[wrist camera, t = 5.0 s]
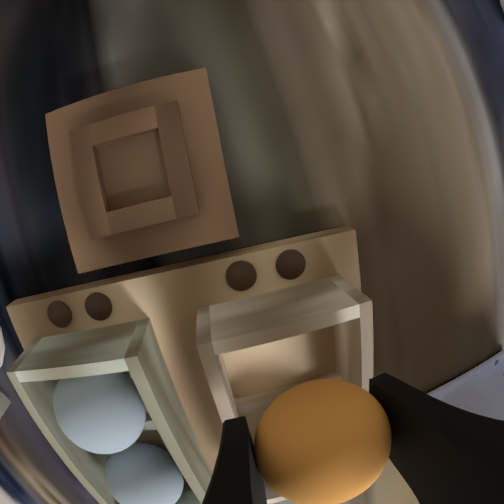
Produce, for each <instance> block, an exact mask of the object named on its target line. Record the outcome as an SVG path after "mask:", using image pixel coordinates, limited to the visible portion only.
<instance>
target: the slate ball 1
mask: <svg viewBox="0 0 504 504" xmlns="http://www.w3.org/2000/svg"><path fill="white" fill-rule="evenodd" d="M53 408H54V414H55V417H56V420H57V422H58V425H59V426H60V428H61V430H62V431H63V433H64V434H65V435H66V436H67V437H68V438H69V439H70V440H71V441H72V442H73V443H74V444H76V445H77V446H79V447H80V448H82V449H84V450H86V451H89V452H92V453H97V454H113V453H117V452H120V451H122V450H124V449H126V448H128V447H129V446H131V445H132V444H133V443H134V442H135V441H136V440H137V439H138V437H139V436H140V434H141V432H142V430H143V428H144V424H145V419H146V407H145V404H144V402H143V400H142V398H141V396H140V394H139V392H138V390H137V387H136V385H135V383H134V381H133V380H132V378H131V377H129V376H128V375H127V374H126V373H125V372H117V373H109V374H102V375H94V376H85V377H77V378H67V379H60V380H59V382H58V384H57V386H56V388H55V392H54V397H53Z"/></svg>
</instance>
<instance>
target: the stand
mask: <svg viewBox="0 0 504 504" xmlns="http://www.w3.org/2000/svg"><path fill="white" fill-rule="evenodd" d="M45 118H46V127H47V135H48V142H49V149H50V156H51V162H52V168H53V173H54V179H55V184H56V189H57V194H58V198H59V203H60V207H61V212H62V216H63V220H64V224H65V228H66V232H67V236H68V240H69V243H70V247H71V251H72V254H73V258H74V261H75V264H76V268H77V271H78V274H80V273H84V272H89V271H93V270H97V269H101V268H106V267H110V266H114V265H118V264H123V263H127V262H131V261H135V260H140V259H144V258H148V257H153V256H157V255H162V254H166V253H170V252H175V251H179V250H184V249H188V248H192V247H197V246H201V245H206V244H210V243H215V242H219V241H224V240H229V239H233V238H238V237H239V233H238V228H237V223H236V218H235V213H234V208H233V203H232V198H231V193H230V188H229V183H228V178H227V173H226V168H225V163H224V157H223V152H222V147H221V142H220V137H219V132H218V127H217V121H216V116H215V111H214V106H213V101H212V95H211V90H210V85H209V80H208V74H207V69H206V68H201V69H195V70H190V71H185V72H180V73H176V74H171V75H167V76H162V77H158V78H154V79H150V80H146V81H142V82H139V83H135V84H131V85H128V86H124V87H121V88H117V89H114V90H111V91H108V92H105V93H101V94H98V95H95V96H92V97H89V98H87V99H84V100H81V101H78V102H75V103H73V104H70V105H67V106H65V107H62V108H59V109H57V110H54V111H52V112H49V113H47V114H45Z"/></svg>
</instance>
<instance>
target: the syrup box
mask: <svg viewBox="0 0 504 504" xmlns="http://www.w3.org/2000/svg"><path fill="white" fill-rule="evenodd" d="M500 4H501V7H502V9H503V12H504V0H500Z"/></svg>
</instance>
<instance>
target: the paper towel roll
mask: <svg viewBox="0 0 504 504" xmlns="http://www.w3.org/2000/svg"><path fill="white" fill-rule="evenodd" d="M4 351H5V344H4V339H3V334H2V329H1V326H0V367H1V366H2V364H3V359H4ZM10 403H11V401H10V400H9V399H8V398H7V397H6V396H5V395H4V394H3V393H1V392H0V419H1V417H2V415H3V414H4V412H5V411H6V409H7V408H8V406H9V405H10Z"/></svg>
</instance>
